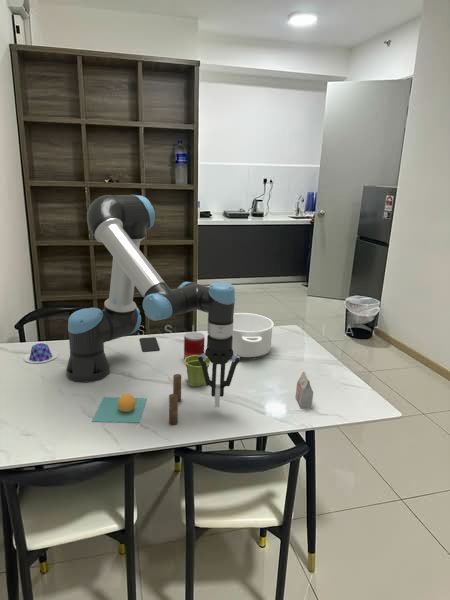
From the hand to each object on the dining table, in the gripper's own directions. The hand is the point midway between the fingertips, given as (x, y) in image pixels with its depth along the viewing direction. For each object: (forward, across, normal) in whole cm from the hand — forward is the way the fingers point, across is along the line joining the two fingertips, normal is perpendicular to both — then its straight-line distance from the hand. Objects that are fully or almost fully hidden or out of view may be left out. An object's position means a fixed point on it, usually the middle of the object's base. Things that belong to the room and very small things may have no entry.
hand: (216, 404), depth 130 cm
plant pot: (+3, -7, +19) cm, 20 cm away
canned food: (+3, -9, +37) cm, 38 cm away
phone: (+3, -29, +52) cm, 60 cm away
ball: (0, -28, -1) cm, 28 cm away
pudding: (+3, -69, +36) cm, 78 cm away
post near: (+3, -13, -6) cm, 15 cm away
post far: (+3, -13, +6) cm, 15 cm away
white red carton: (+3, +29, +7) cm, 30 cm away
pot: (+3, +12, +48) cm, 50 cm away
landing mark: (+3, -30, 0) cm, 30 cm away
